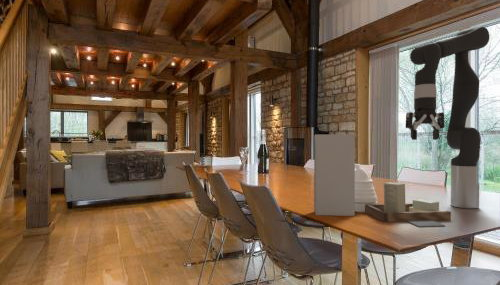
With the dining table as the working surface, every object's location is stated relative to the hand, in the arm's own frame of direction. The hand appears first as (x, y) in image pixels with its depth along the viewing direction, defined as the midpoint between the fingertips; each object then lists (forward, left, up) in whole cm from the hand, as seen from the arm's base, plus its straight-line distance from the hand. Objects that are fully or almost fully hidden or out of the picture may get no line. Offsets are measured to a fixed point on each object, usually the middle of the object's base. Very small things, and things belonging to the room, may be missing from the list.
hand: (424, 139), depth 125 cm
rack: (+10, +4, -28) cm, 30 cm away
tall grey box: (+35, -2, -28) cm, 45 cm away
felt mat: (+10, +16, -28) cm, 34 cm away
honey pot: (+21, -10, -28) cm, 37 cm away
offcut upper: (+2, +4, -26) cm, 26 cm away
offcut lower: (+2, +4, -29) cm, 29 cm away
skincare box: (+14, +4, -28) cm, 32 cm away
